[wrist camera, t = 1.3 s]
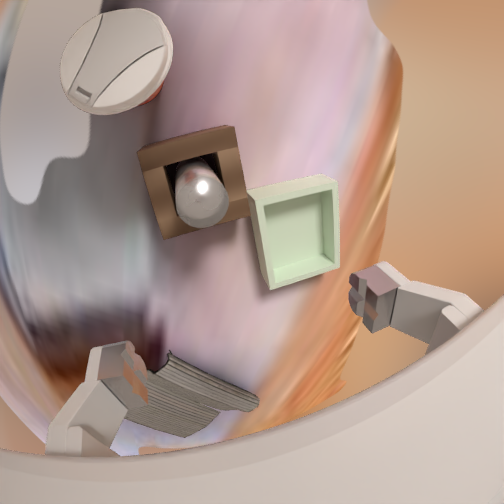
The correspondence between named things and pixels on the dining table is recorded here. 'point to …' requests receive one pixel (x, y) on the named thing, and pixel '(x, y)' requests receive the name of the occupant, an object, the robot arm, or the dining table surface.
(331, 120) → the dining table surface
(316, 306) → the dining table surface
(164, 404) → the mat
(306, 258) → the tray
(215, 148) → the socket block
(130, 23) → the paper cup
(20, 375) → the dining table surface
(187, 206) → the steel pin
